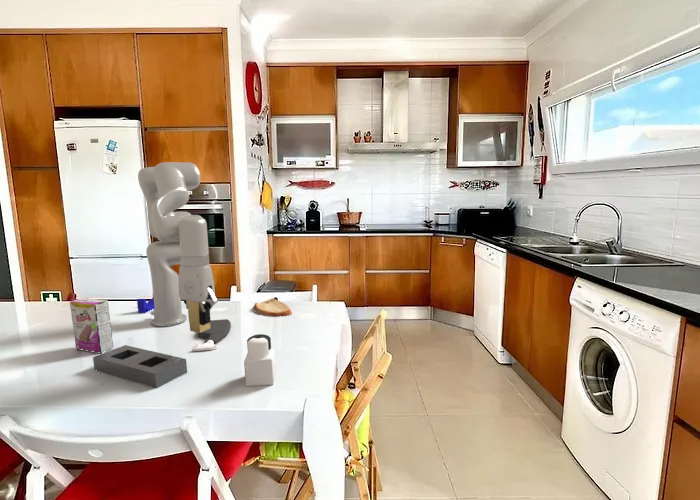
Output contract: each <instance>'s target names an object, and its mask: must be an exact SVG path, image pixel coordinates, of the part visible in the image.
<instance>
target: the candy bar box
mask: <svg viewBox="0 0 700 500" xmlns="http://www.w3.org/2000/svg"><path fill="white" fill-rule="evenodd" d="M69 307H70V313H71V314H70V315H71V319H72V329H73V335H74V342H75V349H76V348H77V349H83V350H88V351H94V352H93V353H95V352H100V353H99V354H102V353H101V352H104V351H106V352H108V351H110V350H113V349H114V342H113V333H112V325H111V317H110V308H109V300H105V299H96V298H95V299H93V298H87V297H81V298H78V299H75V300H71V301H70V302H69ZM112 348H113V349H112ZM109 349H110V350H109ZM107 350H108V351H107ZM88 351H87V352H88ZM104 353H105V352H104Z"/></svg>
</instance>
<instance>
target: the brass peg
mask: <svg viewBox="0 0 700 500" xmlns="http://www.w3.org/2000/svg"><path fill="white" fill-rule="evenodd" d="M204 304H205V305H206V302H205V303H204ZM188 311H189V315H188V323H189V332H194V333H201V332H203V331H206V330H208V329H210V323H207V324H205V325H201V318H200V312H201V306H200V303H199V302H192V301H188V309H187V312H188Z"/></svg>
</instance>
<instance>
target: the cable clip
mask: <svg viewBox="0 0 700 500" xmlns="http://www.w3.org/2000/svg"><path fill="white" fill-rule="evenodd" d="M136 304H137V310H138V311H137V313H138V314H146V312H147V313H148V311H149V312H151V311H153V310H154V309H155V307H154V297H153V296H152V298H151V299H149V300H148V301H147V299H146V298H137V299H136ZM152 309H153V310H152ZM150 310H151V311H150Z"/></svg>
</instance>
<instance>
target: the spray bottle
mask: <svg viewBox="0 0 700 500" xmlns="http://www.w3.org/2000/svg"><path fill="white" fill-rule="evenodd" d="M210 320H211V321H210V329H208V330H206V331H203V332H201V333H198V332H196V335H197V336H198V338H201V339H205V340H204V343H202V344H200V343H197V342H196V346H195V347H191V352H202V351H212V350H217V344H218V343H219V342H221V341H222V340H223V339H225V338H226V337H227V336H228V335H229V333H230V331H231V327H232V323H231V321H230V320H229V319H225V318H224V319H210Z"/></svg>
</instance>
